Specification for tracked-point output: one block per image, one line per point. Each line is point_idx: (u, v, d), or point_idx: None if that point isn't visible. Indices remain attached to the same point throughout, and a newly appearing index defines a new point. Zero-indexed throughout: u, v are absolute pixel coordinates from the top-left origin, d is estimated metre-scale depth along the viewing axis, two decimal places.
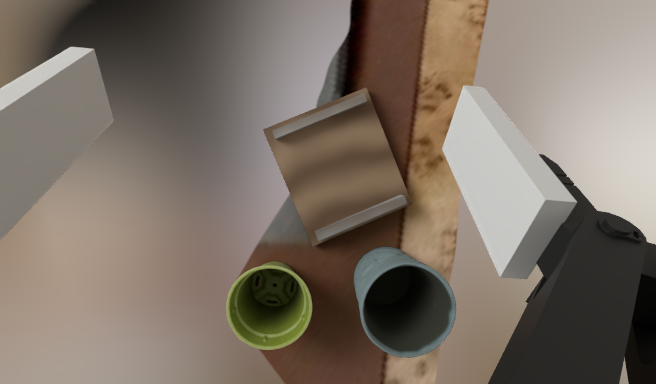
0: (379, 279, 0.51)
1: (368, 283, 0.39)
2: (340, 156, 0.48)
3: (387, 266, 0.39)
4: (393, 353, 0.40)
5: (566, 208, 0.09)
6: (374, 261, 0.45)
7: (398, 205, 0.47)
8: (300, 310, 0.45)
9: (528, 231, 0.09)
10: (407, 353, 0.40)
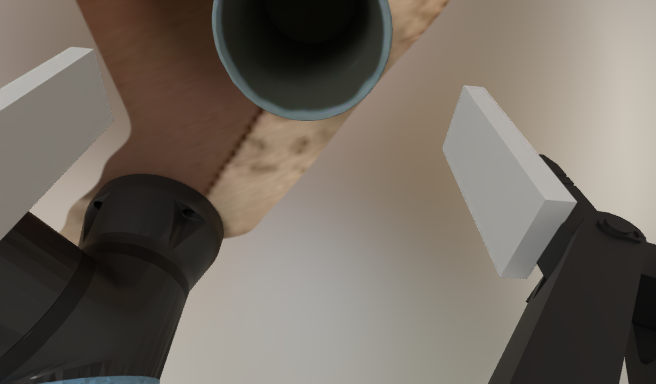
0: None
1: None
2: None
3: None
4: (246, 93, 0.23)
5: (566, 208, 0.09)
6: None
7: None
8: None
9: (528, 231, 0.09)
10: (269, 105, 0.24)
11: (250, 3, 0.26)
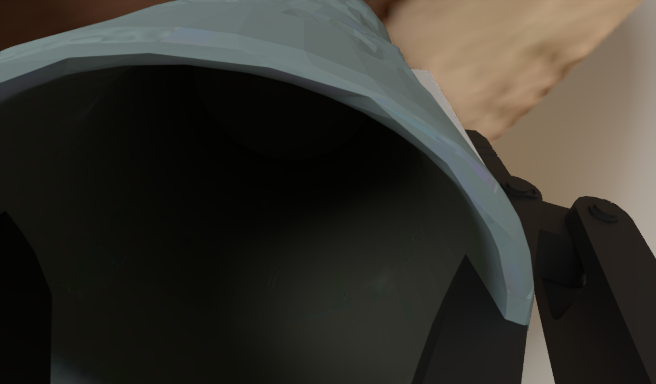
0: (272, 81, 0.16)
1: None
2: None
3: (185, 23, 0.04)
4: None
5: None
6: None
7: None
8: None
9: None
10: None
11: (143, 131, 0.12)
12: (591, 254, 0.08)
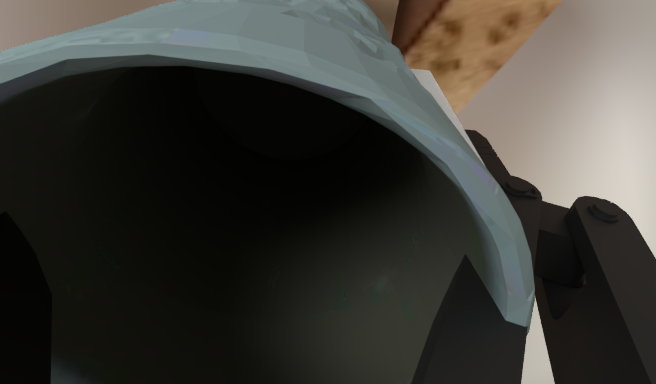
0: (272, 81, 0.16)
1: None
2: None
3: (184, 24, 0.04)
4: None
5: None
6: None
7: None
8: None
9: None
10: None
11: (143, 131, 0.12)
12: (591, 254, 0.08)
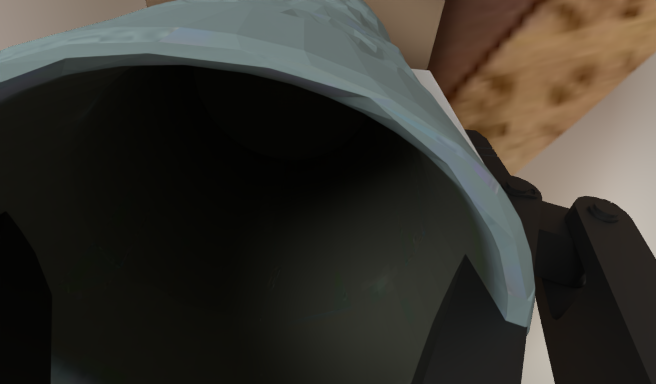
0: (272, 80, 0.16)
1: None
2: None
3: (183, 23, 0.04)
4: None
5: None
6: None
7: None
8: None
9: None
10: None
11: (142, 131, 0.12)
12: (591, 254, 0.08)
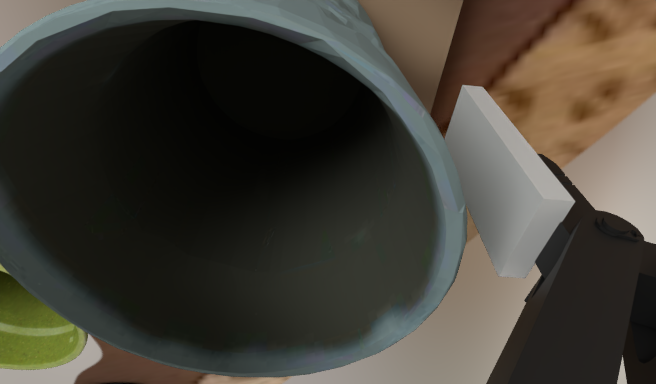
0: (268, 65, 0.17)
1: None
2: None
3: None
4: (115, 342, 0.10)
5: (564, 207, 0.09)
6: None
7: None
8: None
9: (526, 230, 0.09)
10: (174, 352, 0.11)
11: (152, 105, 0.13)
12: None
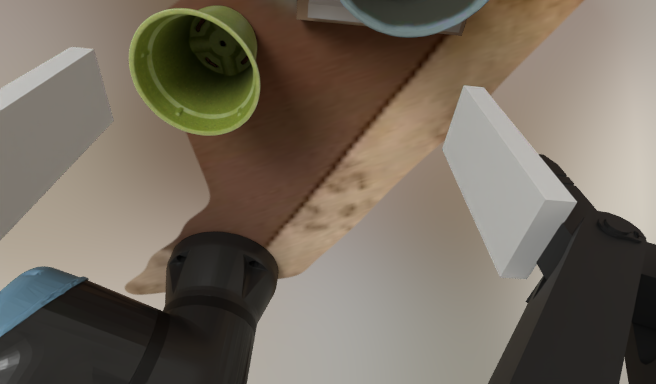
0: None
1: None
2: None
3: None
4: (345, 1, 0.20)
5: (566, 208, 0.09)
6: None
7: None
8: (240, 99, 0.31)
9: (528, 231, 0.09)
10: (369, 18, 0.20)
11: None
12: None
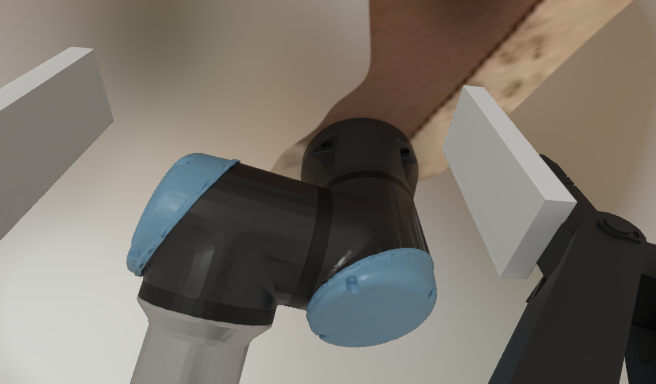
0: None
1: None
2: None
3: None
4: None
5: (566, 208, 0.09)
6: None
7: None
8: None
9: (528, 231, 0.09)
10: None
11: None
12: None
